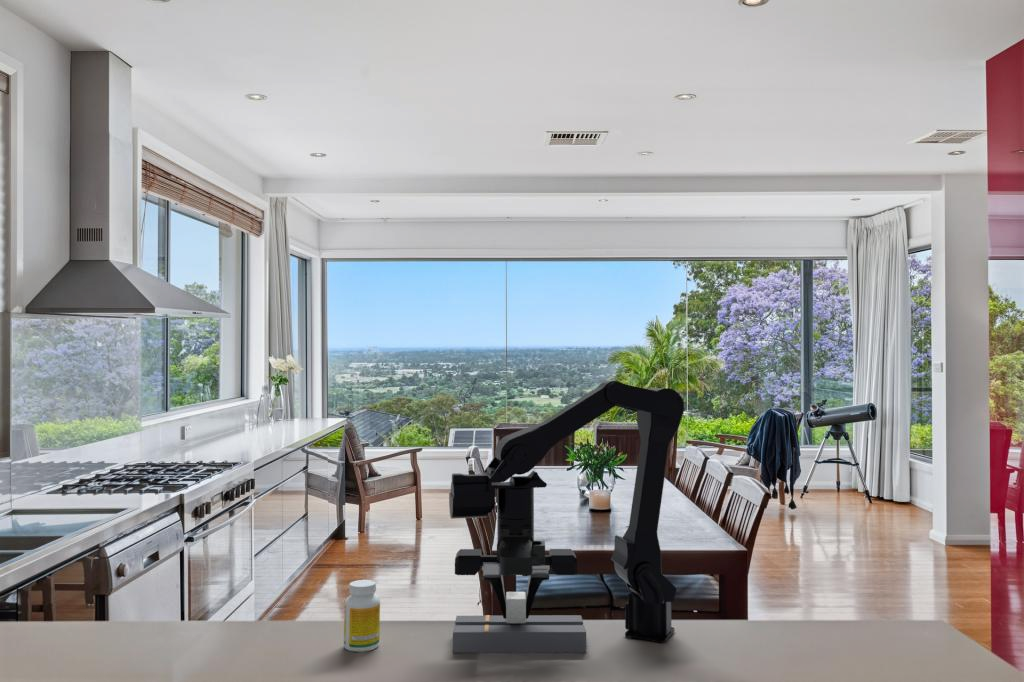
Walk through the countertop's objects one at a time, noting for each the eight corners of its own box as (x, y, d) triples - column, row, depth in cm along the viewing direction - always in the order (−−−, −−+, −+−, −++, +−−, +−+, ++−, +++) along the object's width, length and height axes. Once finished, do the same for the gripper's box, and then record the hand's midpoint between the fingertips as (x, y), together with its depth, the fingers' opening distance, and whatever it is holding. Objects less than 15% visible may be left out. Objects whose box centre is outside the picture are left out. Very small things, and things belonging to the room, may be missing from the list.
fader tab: (525, 627, 118) (525, 591, 118) (525, 635, 114) (525, 599, 114) (506, 627, 118) (506, 591, 118) (506, 635, 114) (506, 599, 114)
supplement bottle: (336, 646, 114) (337, 583, 115) (365, 637, 118) (366, 576, 118) (357, 655, 110) (358, 589, 111) (386, 646, 114) (387, 582, 115)
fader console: (581, 634, 119) (581, 614, 120) (586, 652, 111) (586, 631, 112) (456, 634, 119) (456, 614, 120) (452, 652, 111) (452, 631, 112)
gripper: (452, 526, 108) (451, 635, 108) (580, 526, 109) (580, 635, 108) (457, 513, 120) (457, 612, 119) (573, 512, 120) (574, 611, 119)
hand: (515, 617), depth 116 cm, fingers closed on fader tab, 3 cm apart
